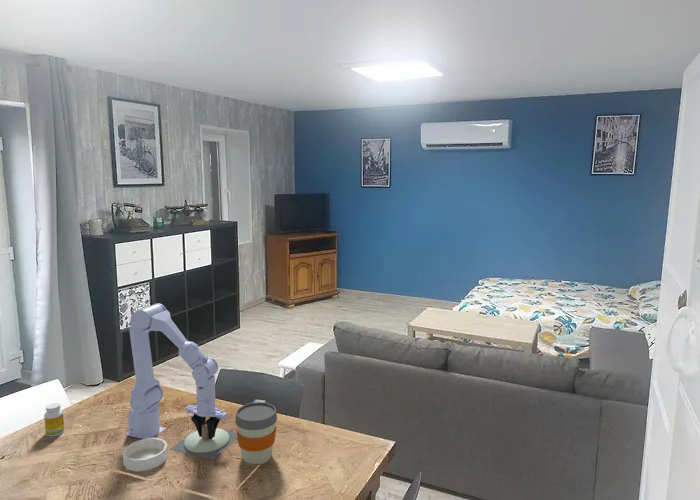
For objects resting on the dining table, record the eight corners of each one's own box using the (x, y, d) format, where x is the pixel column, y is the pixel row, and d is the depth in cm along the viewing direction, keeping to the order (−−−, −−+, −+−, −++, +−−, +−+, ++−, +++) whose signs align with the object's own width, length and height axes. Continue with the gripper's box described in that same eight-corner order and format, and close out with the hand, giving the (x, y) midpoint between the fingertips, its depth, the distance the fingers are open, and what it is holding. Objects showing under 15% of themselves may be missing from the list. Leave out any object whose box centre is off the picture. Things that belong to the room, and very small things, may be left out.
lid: (174, 448, 149) (174, 430, 148) (202, 427, 162) (202, 411, 161) (212, 457, 144) (211, 439, 143) (237, 434, 157) (237, 418, 157)
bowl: (114, 467, 139) (114, 455, 139) (144, 446, 150) (144, 435, 150) (147, 476, 135) (146, 463, 135) (175, 454, 146) (175, 442, 146)
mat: (170, 450, 148) (170, 449, 148) (201, 426, 163) (201, 425, 163) (213, 461, 143) (213, 459, 143) (241, 435, 158) (241, 433, 158)
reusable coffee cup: (284, 450, 150) (284, 405, 148) (264, 472, 138) (264, 424, 136) (249, 442, 154) (249, 399, 152) (227, 463, 142) (226, 416, 140)
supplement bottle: (44, 432, 158) (42, 405, 157) (62, 427, 162) (61, 400, 160) (46, 438, 154) (44, 411, 153) (65, 433, 157) (63, 406, 156)
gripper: (232, 395, 152) (233, 434, 154) (195, 388, 157) (196, 426, 159) (219, 404, 146) (220, 445, 148) (180, 397, 151) (182, 436, 152)
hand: (207, 436), depth 153 cm, fingers closed on lid, 3 cm apart
